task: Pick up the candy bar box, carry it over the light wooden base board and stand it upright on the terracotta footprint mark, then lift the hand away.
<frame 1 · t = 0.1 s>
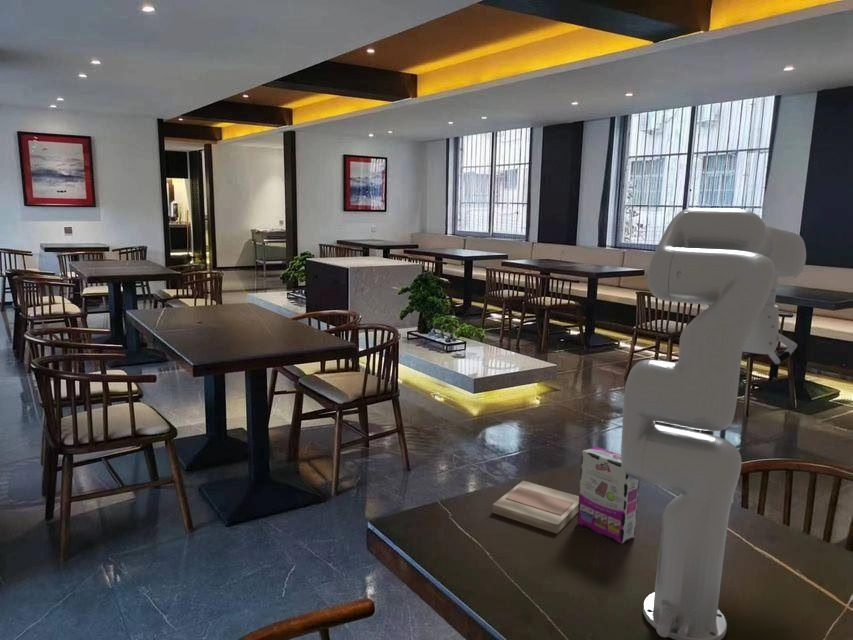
hand: (745, 377, 133), 31 cm above the table, tool pointing down, fingers open, 9 cm apart
base board: (538, 509, 139), on the table
candy bar box: (605, 531, 131), on the table
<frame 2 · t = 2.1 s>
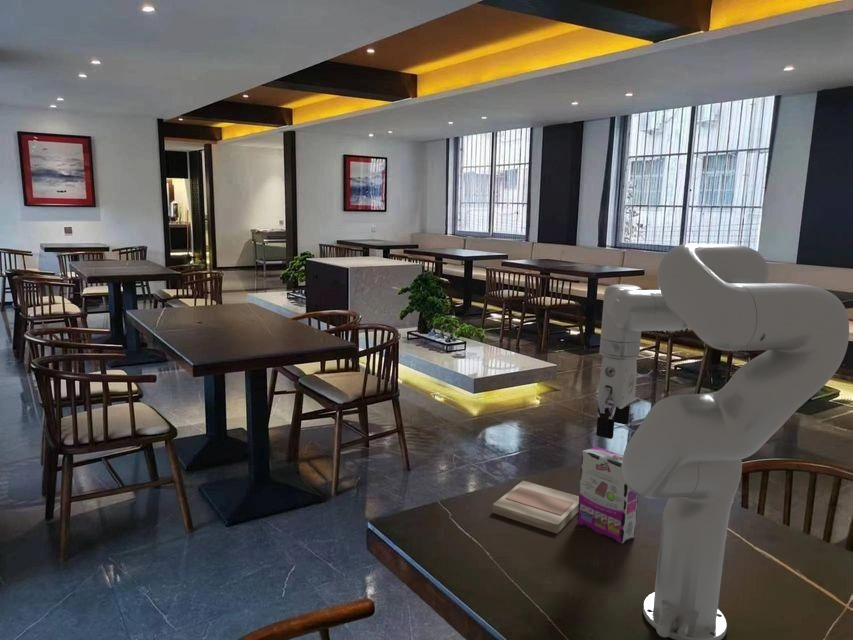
hand: (612, 429, 127), 22 cm above the table, tool pointing down, fingers open, 9 cm apart
nothing on the table moved.
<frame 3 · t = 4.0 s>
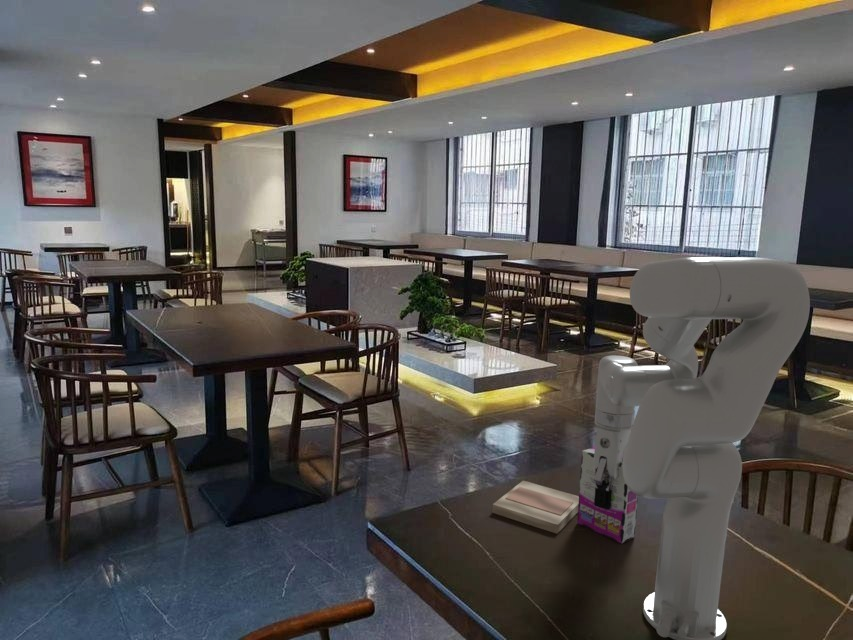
hand: (607, 500, 129), 7 cm above the table, tool pointing down, fingers closed on candy bar box, 5 cm apart
candy bar box: (605, 530, 131), on the table, touching gripper
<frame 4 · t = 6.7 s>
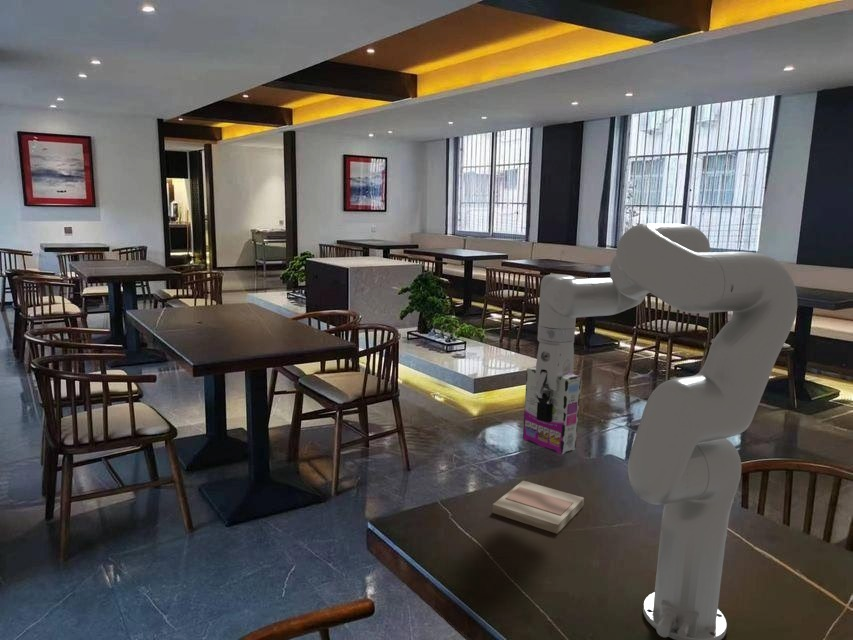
hand: (550, 415, 134), 22 cm above the table, tool pointing down, fingers closed on candy bar box, 5 cm apart
candy bar box: (548, 445, 135), point 15 cm above the table, touching gripper
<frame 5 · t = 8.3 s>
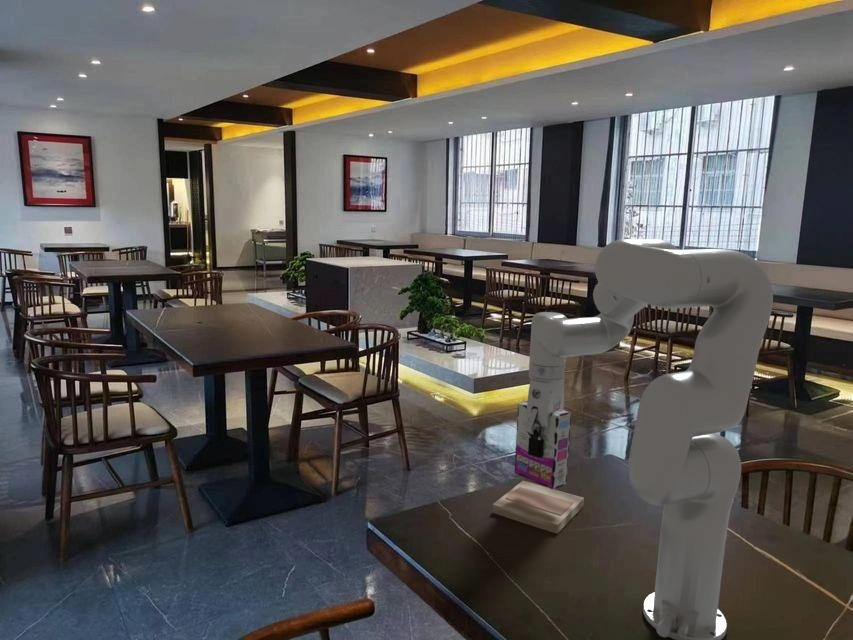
hand: (541, 450, 136), 14 cm above the table, tool pointing down, fingers closed on candy bar box, 5 cm apart
candy bar box: (540, 479, 138), point 7 cm above the table, touching gripper
when the fingers open (10 cm above the table, at t = 9.5 s): candy bar box drops 1 cm, resting on base board.
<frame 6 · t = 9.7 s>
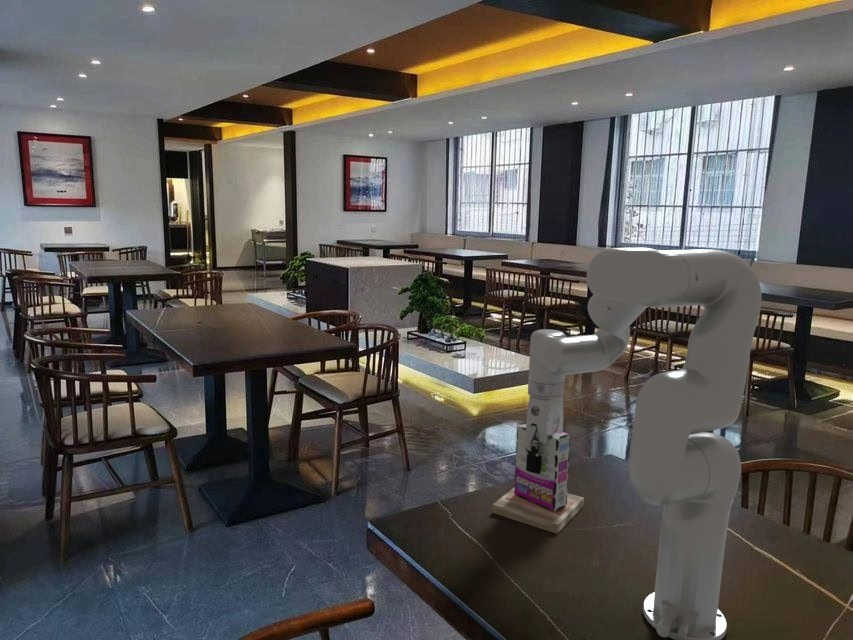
hand: (541, 465, 137), 10 cm above the table, tool pointing down, fingers open, 7 cm apart
candy bar box: (540, 500, 138), point 2 cm above the table, touching base board
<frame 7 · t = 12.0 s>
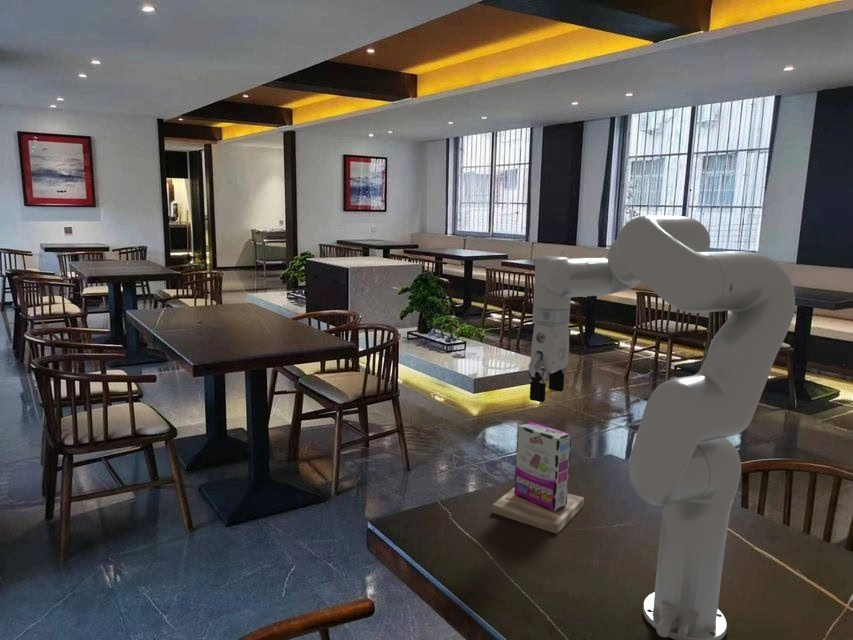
hand: (546, 395, 133), 26 cm above the table, tool pointing down, fingers open, 9 cm apart
nothing on the table moved.
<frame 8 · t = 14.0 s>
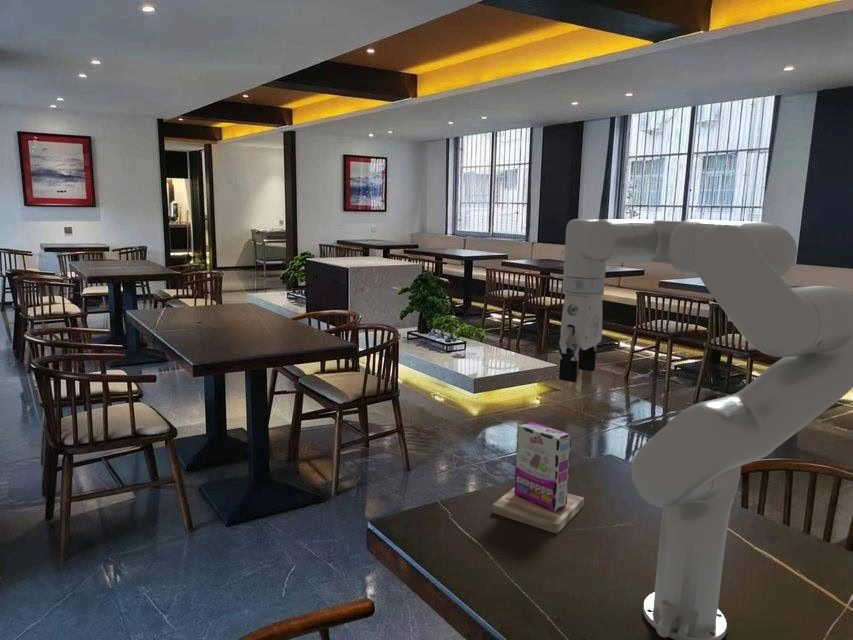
hand: (577, 375, 120), 34 cm above the table, tool pointing down, fingers open, 9 cm apart
nothing on the table moved.
at the end: candy bar box 0.2 cm off-centre on the base board, point 2.0 cm above the base board's base; candy bar box tilted 0°; the gripper is holding nothing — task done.
